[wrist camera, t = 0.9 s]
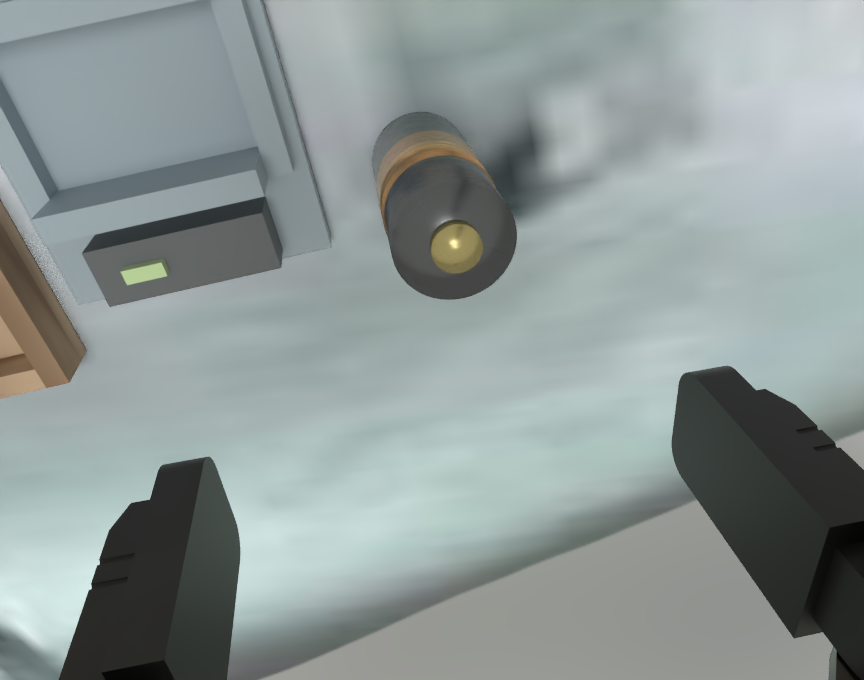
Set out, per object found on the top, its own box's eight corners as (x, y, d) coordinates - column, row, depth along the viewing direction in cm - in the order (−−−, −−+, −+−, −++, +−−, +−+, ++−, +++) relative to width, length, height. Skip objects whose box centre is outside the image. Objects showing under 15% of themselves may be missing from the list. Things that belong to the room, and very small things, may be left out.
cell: (459, 101, 27) (515, 171, 19) (473, 195, 29) (528, 292, 21) (360, 122, 27) (377, 202, 19) (382, 215, 29) (405, 320, 21)
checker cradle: (240, -79, 23) (226, -79, 19) (331, 237, 29) (332, 278, 26) (-80, -11, 22) (-150, 1, 19) (85, 293, 29) (55, 342, 26)
